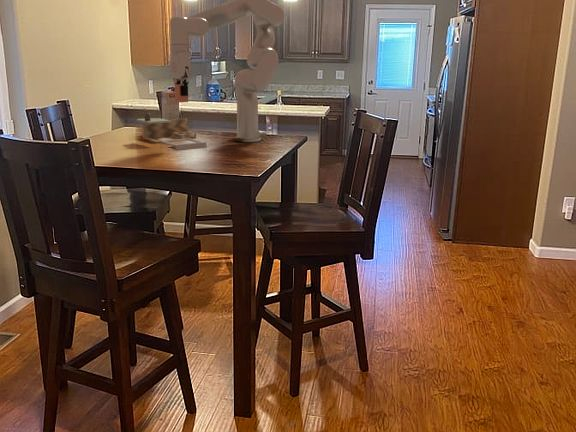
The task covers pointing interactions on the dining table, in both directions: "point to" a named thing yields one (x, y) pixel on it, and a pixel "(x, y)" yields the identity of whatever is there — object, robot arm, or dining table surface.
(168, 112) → the cracker box
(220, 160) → the dining table surface
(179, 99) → the block
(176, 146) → the tray
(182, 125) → the small wooden cabinet
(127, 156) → the dining table surface
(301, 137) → the dining table surface
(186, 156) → the dining table surface
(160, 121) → the lid
